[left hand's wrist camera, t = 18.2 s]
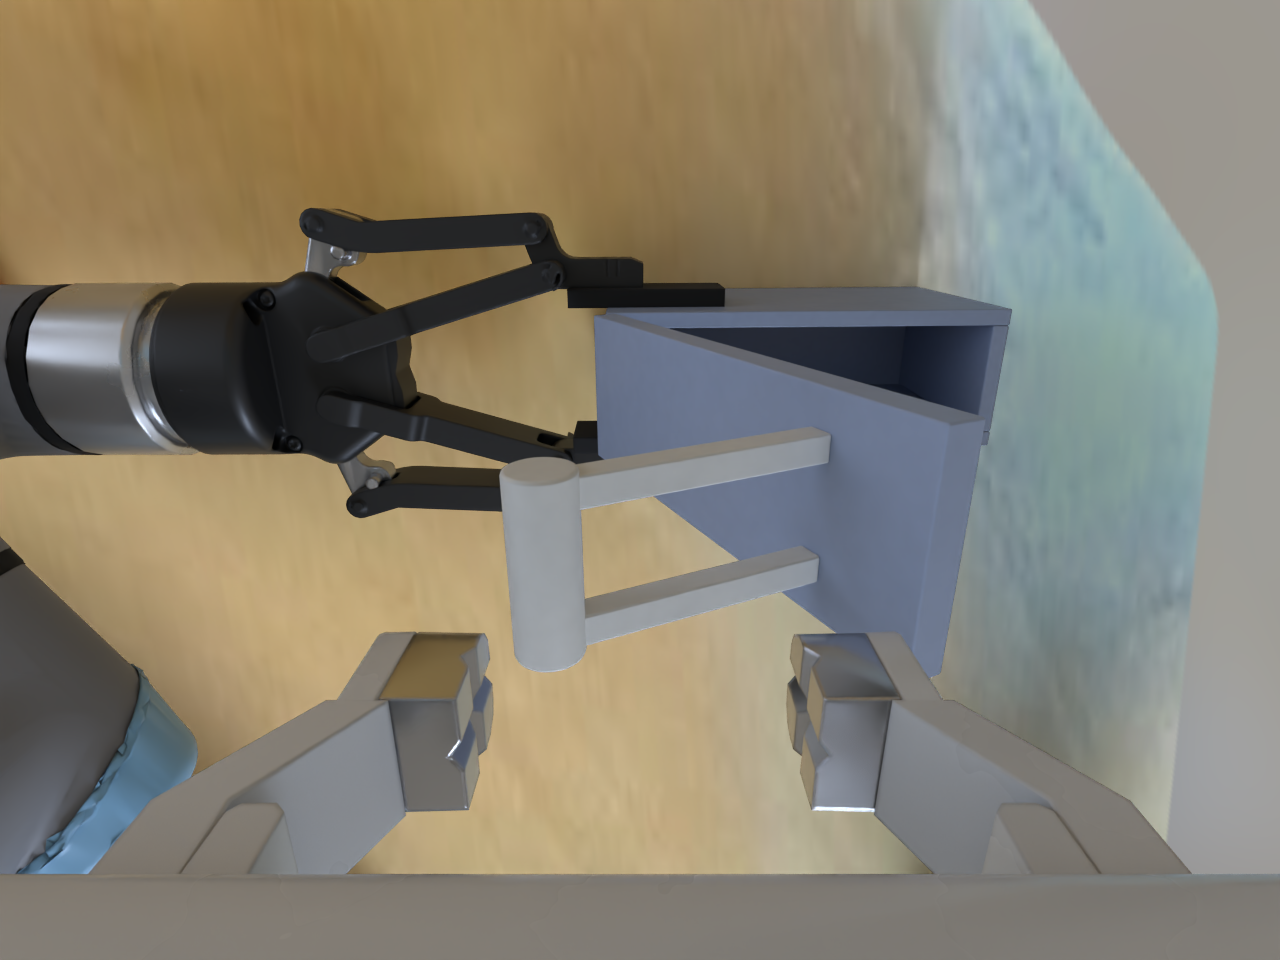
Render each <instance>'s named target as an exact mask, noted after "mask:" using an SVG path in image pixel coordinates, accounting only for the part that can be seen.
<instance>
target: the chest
mask: <svg viewBox="0 0 1280 960" xmlns="http://www.w3.org/2000/svg"><path fill="white" fill-rule="evenodd" d="M1011 313H1012V309H1008V308H1004V307H1000V306H996V305H992V304H987V303H983V302H979V301H975V300H971V299H967V298H962V297H958V296H954V295H950V294H946V293H941V292H937V291H933V290H929V289H925V288H920V287H837V288H725V307H639V308H607V312H606V315H608V314H618V315H622V316H625V317H629V318H632V319H636V320H639V321H643V322H647V323H650V324H654V325H657V326H661V327H664V328H668V329H672V330H675V331H679V332H682V333H686V334H689V335H693V336H697V337H700V338H704V339H707V340H711V341H714V342H718V343H722V344H725V345H729V346H732V347H736V348H739V349H743V350H747V351H750V352H754V353H757V354H761V355H764V356H768V357H772V358H775V359H779V360H782V361H786V362H789V363H793V364H797V365H800V366H804V367H807V368H811V369H814V370H818V371H821V372H825V373H829V374H832V375H836V376H839V377H843V378H846V379H850V380H854V381H857V382H861V383H864V384H868V385H871V386H875V387H879V388H882V389H886V390H889V391H893V392H896V393H900V394H904V395H907V396H911V397H914V398H918V399H921V400H925V401H929V402H932V403H936V404H939V405H943V406H946V407H950V408H954V409H957V410H961V411H964V412H968V413H971V414H975V415H979V416H982V417H984V418H985V425H984V431H983V437H982V442H981V445H987V444H988V438H989V430H990V427H991V421H992V416H993V410H994V405H995V399H996V394H997V388H998V383H999V377H1000V372H1001V366H1002V361H1003V355H1004V350H1005V344H1006V339H1007V333H1008V328H1009V327H1008V325H1009V324H1010V318H1011Z"/></svg>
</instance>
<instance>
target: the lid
mask: <svg viewBox="0 0 1280 960" xmlns="http://www.w3.org/2000/svg"><path fill="white" fill-rule="evenodd" d="M594 330H595V363H596V396H597V429H598V455H599V456H600V457H602V458H603V459H604V460H600V461H594V462H588V463H582V464H575V463H573V462H571V461H569V460H566V459H561V458H555V457H534V458H527V459H522V460H518V461H515V462H512V463H510V464H508V465H506V466H504V467H503V468H502V470H501V472H500V475H499V478H500V490H501V501H502V513H503V525H504V537H505V548H506V560H507V572H508V583H509V595H510V607H511V619H512V630H513V642H514V653H515V657H516V659H517V660H518V662H519V663H520V664H521V665H522V666H523V667H525V668H527V669H530V670H533V671H537V672H555V671H560V670H564V669H567V668H569V667H571V666H573V665H575V664H576V663H578V662H579V661H580V660H581V659H582V657H583V656H584V654H585V651H586V647H587V646H586V645H590V644H594V643H597V642H601V641H604V640H608V639H612V638H615V637H619V636H623V635H626V634H630V633H633V632H637V631H641V630H644V629H648V628H652V627H655V626H659V625H662V624H666V623H670V622H673V621H677V620H680V619H684V618H688V617H691V616H695V615H699V614H702V613H706V612H709V611H713V610H717V609H720V608H724V607H728V606H731V605H735V604H738V603H742V602H746V601H749V600H753V599H757V598H760V597H764V596H767V595H771V594H775V593H778V592H782V593H784V594H785V595H786V596H788V597H789V598H790V599H792V600H793V601H794V602H796V603H797V604H798V605H800V606H801V607H802V608H804V609H805V610H806V611H808V612H809V613H810V614H812V615H813V616H814V617H816V618H817V619H818V620H820V621H821V622H822V623H824V624H825V625H826V626H828V627H829V628H830V629H832V630H833V631H834V632H836V633H864V632H892V631H895V632H897V633H899V634H901V636H902V637H903V639H904V640H905V642H906V643H907V645H908V646H909V648H910V650H911V651H912V653H913V654H914V656H915V657H916V659H917V660H918V662H919V663H920V665H921V667H922V668H923V670H924V671H925V673H926V674H927V676H928V677H929V678H930V677H933V676H935V675H938V674H940V672H941V667H942V662H943V656H944V651H945V645H946V639H947V634H948V628H949V622H950V617H951V611H952V605H953V600H954V594H955V589H956V583H957V577H958V572H959V566H960V560H961V555H962V549H963V544H964V538H965V532H966V527H967V521H968V515H969V510H970V504H971V499H972V493H973V487H974V482H975V476H976V470H977V465H978V459H979V454H980V448H981V442H982V437H983V431H984V425H985V418H984V417H982V416H979V415H975V414H971V413H968V412H964V411H961V410H957V409H954V408H950V407H946V406H943V405H939V404H936V403H932V402H929V401H925V400H921V399H918V398H914V397H911V396H907V395H904V394H900V393H896V392H893V391H889V390H886V389H882V388H879V387H875V386H871V385H868V384H864V383H861V382H857V381H854V380H850V379H846V378H843V377H839V376H836V375H832V374H829V373H825V372H821V371H818V370H814V369H811V368H807V367H804V366H800V365H797V364H793V363H789V362H786V361H782V360H779V359H775V358H772V357H768V356H764V355H761V354H757V353H754V352H750V351H747V350H743V349H739V348H736V347H732V346H729V345H725V344H722V343H718V342H714V341H711V340H707V339H704V338H700V337H697V336H693V335H689V334H686V333H682V332H679V331H675V330H672V329H668V328H664V327H661V326H657V325H654V324H650V323H647V322H643V321H639V320H636V319H632V318H629V317H625V316H622V315H618V314H608V315H595V316H594ZM651 496H654V497H655V498H657V499H658V500H659V501H661V502H662V503H663V504H665V505H666V506H667V507H669V508H670V509H671V510H673V511H674V512H675V513H677V514H678V515H679V516H681V517H682V518H683V519H685V520H686V521H687V522H689V523H690V524H691V525H693V526H694V527H695V528H697V529H698V530H699V531H701V532H702V533H703V534H705V535H706V536H707V537H709V538H710V539H711V540H713V541H714V542H715V543H717V544H718V545H719V546H721V547H722V548H723V549H725V550H726V551H727V552H729V553H730V554H731V555H733V556H734V557H735V558H737V559H738V560H739V561H737V562H733V563H729V564H725V565H720V566H716V567H712V568H708V569H704V570H700V571H696V572H692V573H688V574H684V575H680V576H676V577H672V578H668V579H664V580H660V581H656V582H652V583H648V584H643V585H639V586H635V587H631V588H627V589H623V590H619V591H615V592H611V593H607V594H603V595H599V596H595V597H591V598H587V599H585V597H584V573H583V548H582V524H581V510H583V509H588V508H593V507H599V506H604V505H609V504H614V503H620V502H625V501H630V500H636V499H641V498H646V497H651Z"/></svg>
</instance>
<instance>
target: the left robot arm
mask: <svg viewBox="0 0 1280 960" xmlns="http://www.w3.org/2000/svg"><path fill="white" fill-rule="evenodd" d="M489 660H490V655H489V646H488V639H487V637H486V635H485V634H484V633H441V632H418V633H416V632H384V633H382V634H379V635H378V636H377V638H376V640H375V641H374V643H373V644H372V646H371V647H370V649H369V650H368V652H367V654H366V655H365V657H364V658H363V660H362V661H361V663H360V665H359V666H358V668H357V669H356V671H355V672H354V674H353V675H352V677H351V679H350V680H349V682H348V683H347V685H346V686H345V688H344V690H343V691H342V693H341V694H340V696H339V697H338V699H337V700H326V701H324V702H322V703H320V704H319V705H317V706H315V707H313V708H312V709H310V710H308V711H306V712H305V713H303V714H301V715H299V716H298V717H296V718H294V719H292V720H290V721H289V722H287V723H285V724H283V725H282V726H280V727H278V728H276V729H275V730H273V731H271V732H269V733H268V734H266V735H264V736H262V737H261V738H259V739H257V740H255V741H254V742H252V743H250V744H248V745H247V746H245V747H243V748H241V749H239V750H238V751H236V752H234V753H232V754H231V755H229V756H227V757H225V758H224V759H222V760H220V761H218V762H217V763H215V764H213V765H211V766H210V767H208V768H206V769H204V770H203V771H201V772H199V773H197V774H196V775H194V776H192V777H190V778H188V779H187V780H185V781H183V782H181V783H180V784H178V785H176V786H174V787H173V788H171V789H169V790H167V791H166V792H164V793H162V794H160V795H159V796H157V797H155V798H153V799H152V800H150V801H149V803H148V804H147V805H146V806H145V807H144V809H143V810H142V811H141V812H140V813H139V814H138V816H137V817H136V818H135V819H134V820H133V821H132V823H131V824H130V825H129V826H128V827H127V829H126V830H125V831H124V832H123V833H122V834H121V836H120V837H119V838H118V839H117V840H116V841H115V843H114V844H113V845H112V846H111V847H110V848H109V850H108V851H107V852H106V853H105V854H104V856H103V857H102V858H101V859H100V860H99V861H98V863H97V864H96V865H95V866H94V867H93V868H92V870H91V871H90V872H89V873H88V874H0V960H1280V874H1192V873H1191V872H1190V871H1189V870H1188V868H1187V867H1186V866H1185V865H1184V864H1183V863H1182V861H1181V860H1180V859H1179V858H1178V857H1177V855H1176V854H1175V853H1174V852H1173V851H1172V849H1171V848H1170V847H1169V846H1168V845H1167V844H1166V842H1165V841H1164V840H1163V839H1162V838H1161V836H1160V835H1159V834H1158V833H1157V832H1156V831H1155V829H1154V828H1153V827H1152V826H1151V825H1150V823H1149V822H1148V821H1147V820H1146V819H1145V818H1144V816H1143V815H1142V814H1141V813H1140V812H1139V810H1138V809H1137V808H1136V807H1135V806H1134V805H1133V803H1132V802H1131V801H1130V800H1128V799H1126V798H1124V797H1123V796H1121V795H1119V794H1117V793H1116V792H1114V791H1112V790H1110V789H1109V788H1107V787H1105V786H1103V785H1102V784H1100V783H1098V782H1096V781H1095V780H1093V779H1091V778H1089V777H1088V776H1086V775H1084V774H1082V773H1081V772H1079V771H1077V770H1075V769H1074V768H1072V767H1070V766H1068V765H1067V764H1065V763H1063V762H1061V761H1060V760H1058V759H1056V758H1054V757H1053V756H1051V755H1049V754H1047V753H1045V752H1044V751H1042V750H1040V749H1038V748H1037V747H1035V746H1033V745H1031V744H1030V743H1028V742H1026V741H1024V740H1023V739H1021V738H1019V737H1017V736H1016V735H1014V734H1012V733H1010V732H1009V731H1007V730H1005V729H1003V728H1002V727H1000V726H998V725H996V724H995V723H993V722H991V721H989V720H988V719H986V718H984V717H982V716H981V715H979V714H977V713H975V712H974V711H972V710H970V709H968V708H967V707H965V706H963V705H961V704H960V703H958V702H956V701H954V700H943V699H942V697H941V696H940V694H939V693H938V691H937V690H936V688H935V687H934V685H933V684H932V682H931V680H930V679H929V677H928V676H927V674H926V673H925V671H924V670H923V668H922V667H921V665H920V663H919V662H918V660H917V659H916V657H915V656H914V654H913V653H912V651H911V650H910V648H909V646H908V645H907V643H906V642H905V640H904V639H903V637H902V636H901V634H899V633H897V632H895V631H892V632H864V633H837V634H794V637H793V640H792V644H791V654H790V660H791V663H792V666H793V669H794V672H795V677H794V678H793V679H792V680H791V681H790V682H789V683H788V687H787V723H788V729H789V735H790V739H791V742H792V746H793V749H794V750H795V751H796V752H797V753H799V754H800V755H801V756H802V759H801V769H800V774H801V777H802V780H803V784H804V787H805V790H806V794H807V797H808V800H809V804H810V807H811V810H828V811H863V812H874V815H875V816H876V817H877V818H878V819H879V820H880V821H881V822H882V823H883V824H884V825H885V826H886V827H887V828H888V829H889V830H890V831H891V832H892V833H893V834H894V835H895V836H896V837H897V838H898V839H899V840H900V841H901V842H902V843H903V844H904V845H905V846H906V847H907V848H908V849H909V850H910V851H911V852H912V853H913V854H914V855H915V856H917V857H918V858H919V859H920V860H921V861H922V862H923V863H924V864H925V865H926V866H927V867H928V868H929V869H930V870H931V871H932V872H933V873H934V874H346V873H347V872H349V871H350V870H351V869H352V868H353V867H354V866H355V865H356V864H357V863H358V862H359V861H360V860H361V859H362V858H363V857H364V856H365V855H366V854H367V853H368V852H369V851H370V850H371V849H372V848H373V847H374V846H375V845H376V844H377V843H378V842H379V841H380V840H381V839H382V838H383V837H384V836H385V835H386V834H387V833H388V832H389V831H390V830H391V829H392V828H393V827H394V826H395V825H396V824H397V823H398V822H400V821H401V820H402V819H403V818H404V817H405V816H406V813H405V812H416V811H451V810H469V807H470V804H471V801H472V797H473V794H474V791H475V787H476V784H477V780H478V777H479V774H480V769H479V759H478V756H479V755H480V754H481V753H483V752H484V751H485V750H486V749H487V746H488V742H489V739H490V735H491V728H492V720H493V687H492V683H491V682H490V681H489V680H488V679H487V678H486V677H485V672H486V669H487V666H488V663H489Z"/></svg>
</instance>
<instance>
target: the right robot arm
mask: <svg viewBox="0 0 1280 960" xmlns="http://www.w3.org/2000/svg"><path fill="white" fill-rule="evenodd" d="M299 222H300V227H301V230H302V232H303V233H304V234H305V235H306V236H307V237H309V243H308V250H307V258H306V266H305V271H304V272H300V273H297V274H295V275H293V276H292V277H290V278H289V279H287V280H285V281H283V282H257V283H190V284H186V285H183V286H179V285H176V284H173V283H75V284H60V285H0V459H4V458H10V457H16V456H37V455H192V454H195V453H198V452H203V453H205V454H212V455H218V454H295V453H303V454H309V455H312V456H315V457H318V458H320V459H322V460H324V461H326V462H329V463H334V464H337V465H338V467H339V469H340V471H341V473H342V475H343V477H344V479H345V481H346V483H347V485H348V487H349V489H350V491H351V493H352V495H351V496H350V497H349V498H348V500H347V503H346V506H347V510H348V511H349V512H350V514H352V515H353V516H355V517H358V518H365V517H368V516H372V515H375V514H378V513H382V512H385V511H388V510H391V509H395V508H424V509H450V510H477V511H502V501H501V490H500V478H499V475H500V472H501V470H502V469H485V468H460V467H435V466H409V467H402V468H398V469H395V466H394V464H393V463H392V462H388V461H384V460H379V461H376V460H372V459H370V458H369V457H367V456H366V455H365V453H364V450H365V449H367V448H368V447H369V446H371V445H372V444H373V443H375V442H376V441H377V440H378V439H380V438H381V437H382V436H384V435H388V436H391V437H395V438H399V439H403V440H407V441H426V442H430V443H434V444H437V445H441V446H445V447H449V448H452V449H456V450H460V451H464V452H467V453H471V454H475V455H479V456H482V457H486V458H490V459H494V460H497V461H501V462H505V463H508V464H510V463H512V462H515V461H518V460H522V459H527V458H534V457H555V458H561V459H566V460H569V461H571V462H573V463H575V464H582V463H588V462H594V461H600V460H604V459H603V458H602V457H600V456H599V455H598V429H597V421H577V425H576V429H575V432H574V435H573V434H572V433H570V432H568V436H564V435H560V434H557V433H553V432H549V431H546V430H542V429H539V428H535V427H531V426H528V425H524V424H520V423H517V422H513V421H509V420H506V419H502V418H498V417H495V416H491V415H488V414H484V413H480V412H477V411H473V410H469V409H466V408H462V407H458V406H455V405H451V404H447V403H444V402H441V401H440V400H439V399H438V398H436V397H434V396H431V395H427V394H423V393H420V392H417V388H416V381H415V379H414V376H413V373H412V371H411V368H410V366H409V363H410V356H411V349H412V346H411V338H410V336H411V335H413V334H416V333H419V332H422V331H425V330H428V329H431V328H435V327H438V326H441V325H444V324H447V323H450V322H454V321H457V320H460V319H463V318H466V317H470V316H473V315H476V314H479V313H482V312H486V311H489V310H492V309H495V308H498V307H501V306H505V305H508V304H511V303H514V302H517V301H521V300H524V299H527V298H530V297H533V296H536V295H540V294H543V293H546V292H549V291H552V290H553V291H555V290H557V289H567V295H568V308H639V307H725V288H724V287H722V286H721V285H720V284H718V283H643V262H642V261H640V260H637V259H635V258H632V257H573V256H570V255H568V254H567V253H565V252H564V251H563V249H562V248H561V246H560V244H559V242H558V239H557V237H556V234H555V231H554V229H553V224H552V221H551V220H550V218H549V217H548V216H546V215H545V214H541V213H513V214H495V215H477V216H458V217H440V218H422V219H403V220H385V221H376V220H373V219H370V218H366V217H363V216H360V215H357V214H354V213H350V212H347V211H344V210H341V209H329V208H309V209H306V210H305V211H304V212H303V213H302V214H301V216H300V219H299ZM514 245H525V247H526V249H527V252H528V254H529V257H530V259H531V262H532V264H529V265H526V266H523V267H520V268H517V269H514V270H511V271H507V272H504V273H501V274H498V275H495V276H492V277H489V278H485V279H482V280H479V281H476V282H473V283H470V284H467V285H463V286H460V287H457V288H454V289H451V290H448V291H445V292H441V293H438V294H435V295H432V296H429V297H426V298H423V299H419V300H416V301H413V302H409V303H406V304H403V305H400V306H397V307H394V308H391V309H385V308H384V307H382V306H381V305H379V304H378V303H376V302H375V301H373V300H372V299H370V298H369V297H367V296H366V295H364V294H363V293H361V292H360V291H358V290H357V289H355V288H354V287H352V286H351V285H349V284H348V283H346V282H345V281H343V280H342V279H340V278H339V277H337V274H338V271H339V270H340V268H342V267H343V266H353V265H358V264H360V263H362V262H363V261H364V260H365V258H366V255H367V253H384V252H403V251H421V250H440V249H458V248H477V247H495V246H514ZM25 564H26V563H24V562H23V560H22V559H21V558H20V557H19V556H18V555H17V554H16V553H15V552H14V551H13V550H12V549H11V547H10V546H9V545H8V544H7V543H6V542H5V541H4V540H3V539H2V538H1V537H0V874H88V873H89V872H90V871H91V870H92V868H93V867H94V866H95V865H96V864H97V863H98V861H99V860H100V859H101V858H102V857H103V856H104V854H105V853H106V852H107V851H108V850H109V848H110V847H111V846H112V845H113V844H114V843H115V841H116V840H117V839H118V838H119V837H120V836H121V834H122V833H123V832H124V831H125V830H126V829H127V827H128V826H129V825H130V824H131V823H132V821H133V820H134V819H135V818H136V817H137V816H138V814H139V813H140V812H141V811H142V810H143V809H144V807H145V806H146V805H147V804H148V803H149V801H150V800H152V799H153V798H155V797H157V796H159V795H160V794H162V793H164V792H166V791H167V790H169V789H171V788H173V787H174V786H176V785H178V784H180V783H181V782H183V781H185V780H187V779H188V778H190V777H191V776H192V773H193V771H194V768H195V766H196V762H197V756H198V749H197V742H196V739H195V737H194V736H193V734H192V733H191V731H190V730H189V729H188V728H187V727H186V725H185V724H184V723H183V722H182V721H181V720H180V719H179V718H178V716H177V715H176V714H175V713H174V712H173V710H172V709H171V708H170V707H169V706H168V704H167V703H166V702H165V701H164V700H163V698H162V697H161V696H160V695H159V694H158V693H157V691H156V690H155V689H154V688H153V687H152V685H151V684H150V683H149V681H148V678H147V677H146V675H145V674H144V672H143V670H141V669H140V668H138V667H136V666H135V665H134V664H129V663H128V662H127V661H126V660H125V659H124V658H123V657H122V656H121V655H120V654H119V653H117V652H116V651H115V650H114V649H113V648H112V647H111V646H110V645H109V644H108V643H107V642H106V641H105V640H104V639H103V638H102V637H101V636H100V635H98V634H97V633H96V632H95V631H94V630H93V629H92V628H91V627H90V626H89V625H88V624H87V623H86V622H85V621H84V620H83V619H82V618H81V617H79V616H78V615H77V614H76V613H75V612H74V611H73V610H72V609H71V608H70V607H69V606H68V605H67V604H66V603H65V602H64V601H63V600H62V599H60V598H59V597H58V596H57V595H56V594H55V593H54V592H53V591H52V590H51V589H50V588H49V587H48V586H47V585H46V584H45V583H44V582H43V581H41V580H40V579H39V578H38V577H37V576H36V575H35V574H34V573H33V572H32V571H31V570H30V569H29V568H28V567H27V566H26V565H25Z"/></svg>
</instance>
